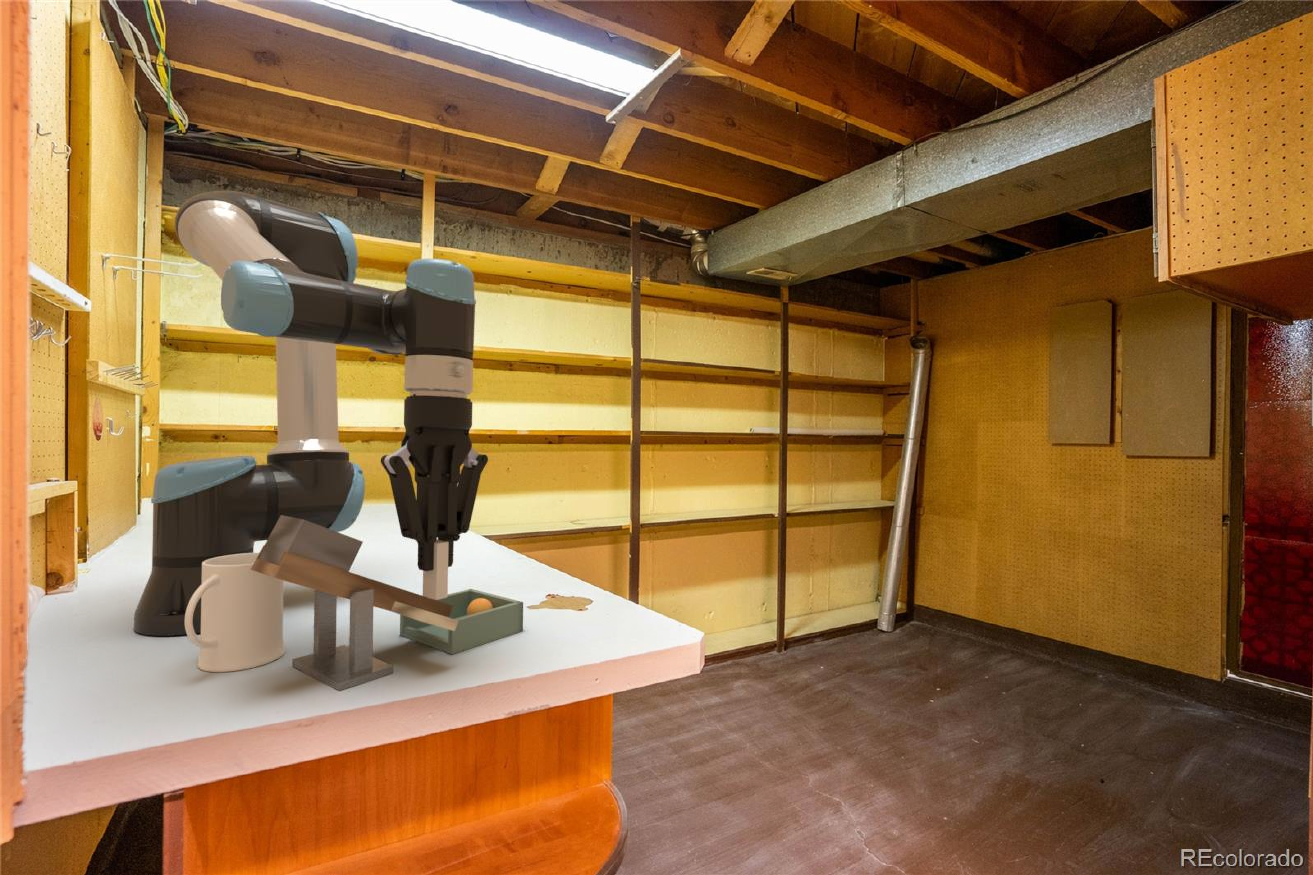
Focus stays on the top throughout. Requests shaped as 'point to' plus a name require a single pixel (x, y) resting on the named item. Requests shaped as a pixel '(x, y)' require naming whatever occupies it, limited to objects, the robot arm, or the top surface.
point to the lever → (337, 570)
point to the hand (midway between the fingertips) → (434, 596)
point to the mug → (237, 615)
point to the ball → (479, 606)
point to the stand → (343, 662)
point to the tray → (468, 623)
